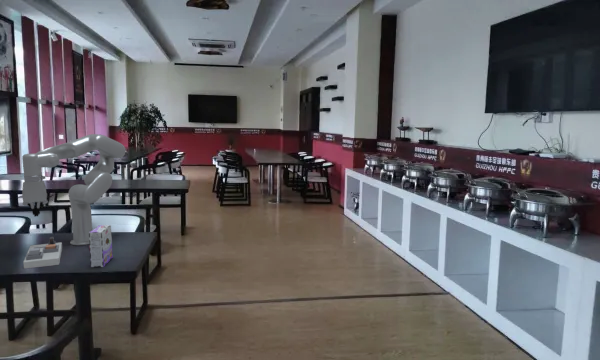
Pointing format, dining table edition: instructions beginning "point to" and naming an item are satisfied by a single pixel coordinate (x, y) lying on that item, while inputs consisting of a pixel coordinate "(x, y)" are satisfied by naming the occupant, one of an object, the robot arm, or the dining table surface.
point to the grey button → (34, 251)
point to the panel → (43, 256)
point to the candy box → (100, 245)
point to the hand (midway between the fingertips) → (36, 215)
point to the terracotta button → (51, 246)
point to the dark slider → (51, 241)
